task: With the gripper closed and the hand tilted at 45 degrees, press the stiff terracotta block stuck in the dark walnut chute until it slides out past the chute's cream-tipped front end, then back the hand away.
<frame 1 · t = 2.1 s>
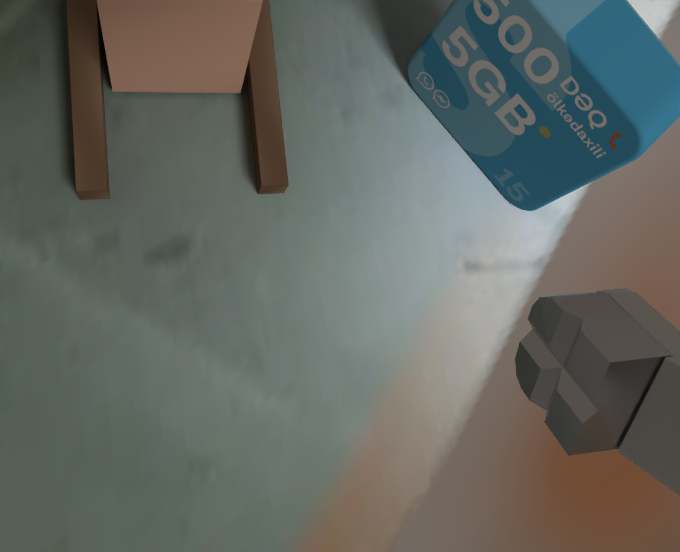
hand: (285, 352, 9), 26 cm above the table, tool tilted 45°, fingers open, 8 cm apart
data package: (481, 128, 41), on the table
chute: (172, 30, 37), on the table
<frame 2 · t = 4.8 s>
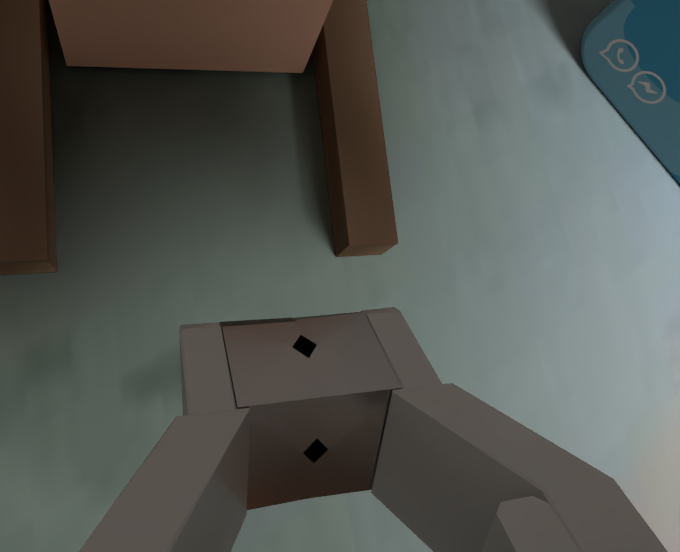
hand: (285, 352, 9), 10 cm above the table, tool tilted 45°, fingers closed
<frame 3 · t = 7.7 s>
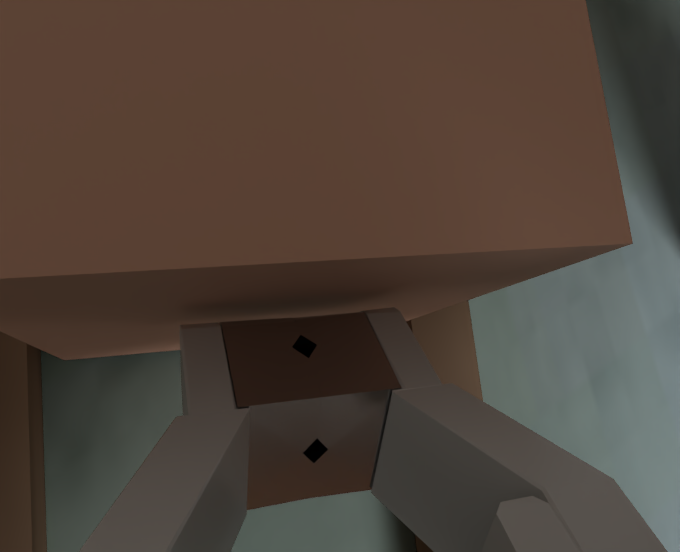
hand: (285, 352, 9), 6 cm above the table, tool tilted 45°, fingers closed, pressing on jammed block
jammed block: (236, 89, 11), point 5 cm above the table, slide at 0.7 cm, touching gripper
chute: (217, 210, 15), on the table
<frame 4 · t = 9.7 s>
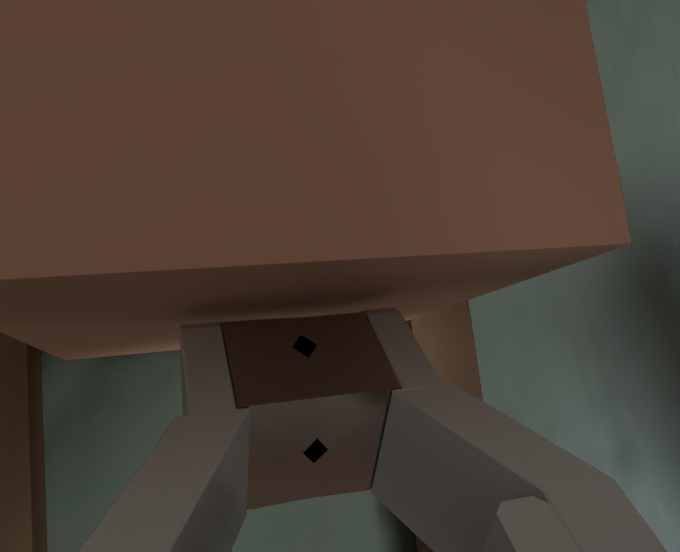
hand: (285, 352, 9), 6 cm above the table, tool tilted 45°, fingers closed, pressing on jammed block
jammed block: (236, 89, 11), point 5 cm above the table, slide at 10.8 cm, touching gripper
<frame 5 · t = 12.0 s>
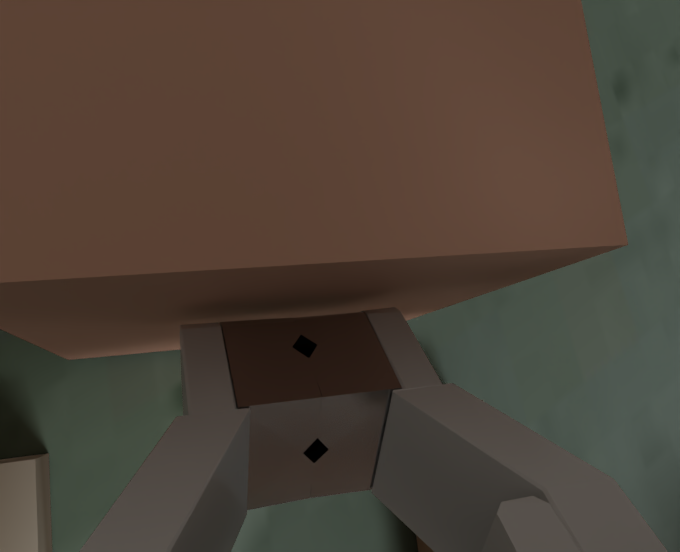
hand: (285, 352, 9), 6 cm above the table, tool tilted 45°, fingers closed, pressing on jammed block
jammed block: (238, 92, 11), point 5 cm above the table, slide at 18.9 cm, touching gripper
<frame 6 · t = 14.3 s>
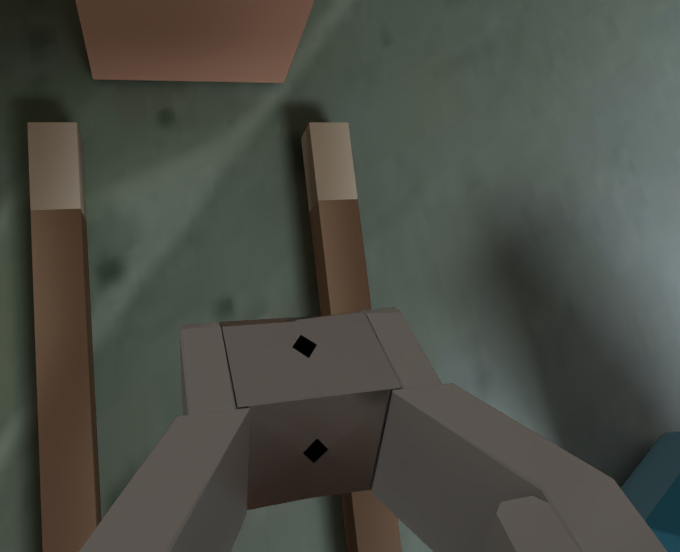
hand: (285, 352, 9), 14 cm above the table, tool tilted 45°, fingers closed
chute: (226, 500, 22), on the table
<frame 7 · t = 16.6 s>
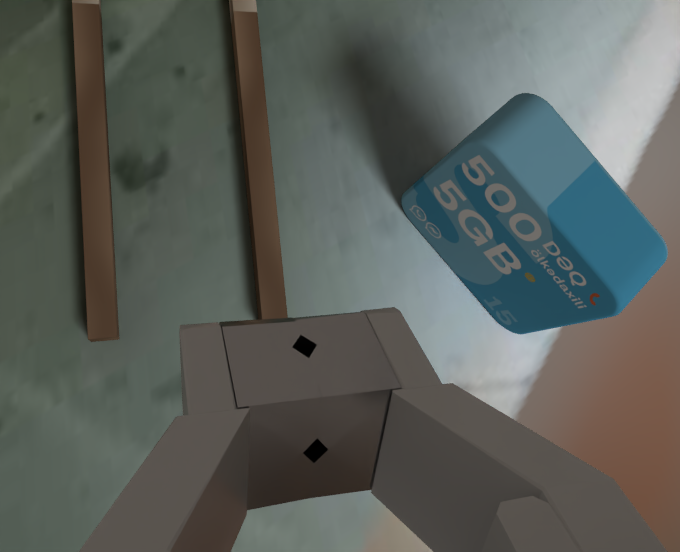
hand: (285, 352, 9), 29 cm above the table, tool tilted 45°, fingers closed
data package: (471, 250, 43), on the table
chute: (179, 170, 39), on the table
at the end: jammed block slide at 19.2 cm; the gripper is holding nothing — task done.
